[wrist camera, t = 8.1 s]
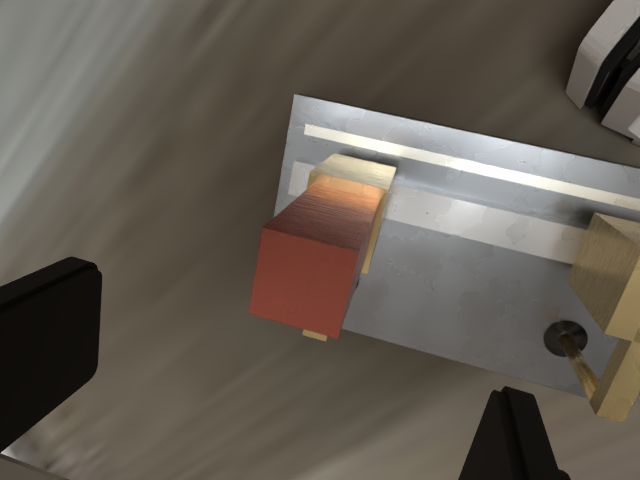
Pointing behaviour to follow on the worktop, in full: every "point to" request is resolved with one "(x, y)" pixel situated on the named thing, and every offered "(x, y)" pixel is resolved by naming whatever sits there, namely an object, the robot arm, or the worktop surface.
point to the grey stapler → (611, 68)
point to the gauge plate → (491, 250)
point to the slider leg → (321, 246)
